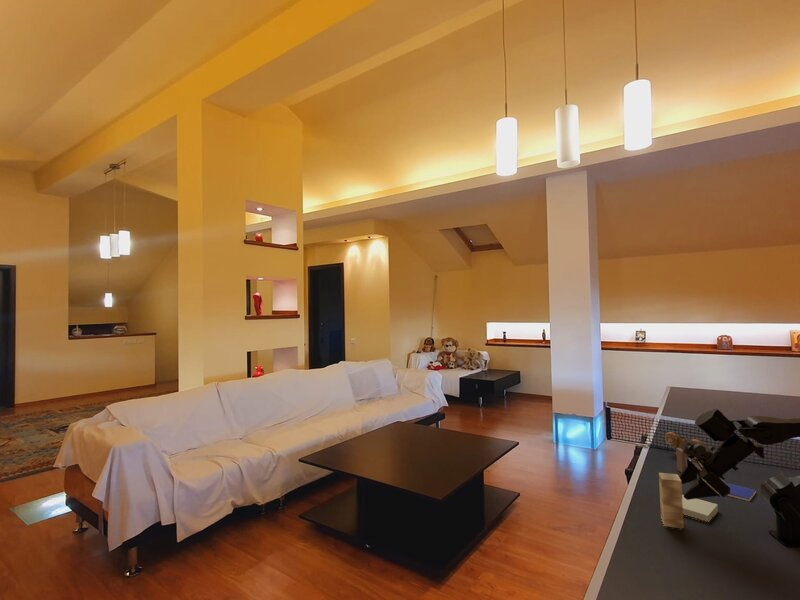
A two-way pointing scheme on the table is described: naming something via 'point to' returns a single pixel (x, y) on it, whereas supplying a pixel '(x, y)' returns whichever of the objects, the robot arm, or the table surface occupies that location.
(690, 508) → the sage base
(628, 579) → the table surface
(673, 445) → the lion figurine
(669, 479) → the maple post
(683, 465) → the wooden block
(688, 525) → the table surface
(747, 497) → the hard drive
